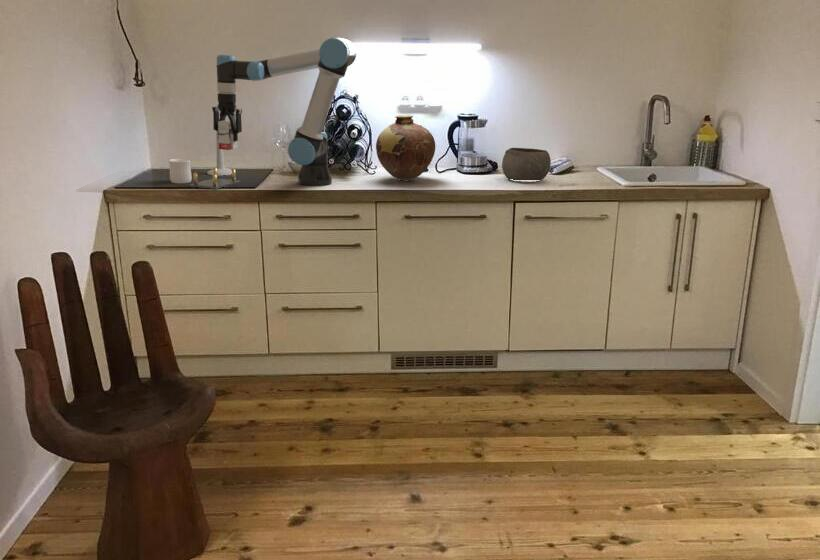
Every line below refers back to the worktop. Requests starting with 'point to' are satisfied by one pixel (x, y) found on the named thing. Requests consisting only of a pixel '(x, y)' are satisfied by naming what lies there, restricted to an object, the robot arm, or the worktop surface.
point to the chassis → (214, 181)
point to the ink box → (225, 135)
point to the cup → (180, 170)
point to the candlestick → (220, 161)
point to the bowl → (526, 164)
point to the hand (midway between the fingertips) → (228, 148)
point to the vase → (405, 148)
